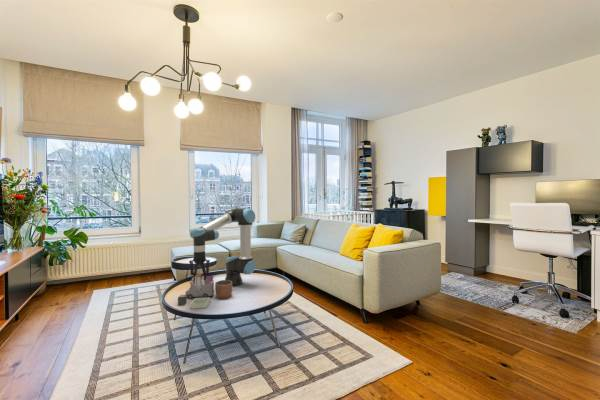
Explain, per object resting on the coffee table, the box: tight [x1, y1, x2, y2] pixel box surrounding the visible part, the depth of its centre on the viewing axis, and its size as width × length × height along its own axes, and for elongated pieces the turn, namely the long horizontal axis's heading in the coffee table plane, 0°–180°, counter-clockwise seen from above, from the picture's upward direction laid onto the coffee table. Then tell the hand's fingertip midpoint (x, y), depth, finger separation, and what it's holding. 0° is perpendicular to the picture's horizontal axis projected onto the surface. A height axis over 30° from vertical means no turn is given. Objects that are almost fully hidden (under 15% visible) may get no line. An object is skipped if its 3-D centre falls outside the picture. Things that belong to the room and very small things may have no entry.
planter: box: [214, 279, 233, 300], centre depth 215 cm, size 12×12×11 cm
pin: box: [196, 272, 203, 292], centre depth 198 cm, size 4×4×12 cm
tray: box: [189, 296, 211, 309], centre depth 199 cm, size 11×11×4 cm
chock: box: [177, 294, 187, 306], centre depth 201 cm, size 4×5×6 cm
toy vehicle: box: [184, 275, 215, 300], centre depth 215 cm, size 9×20×15 cm, turn 95°
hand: (200, 284), depth 198 cm, fingers open, 4 cm apart
